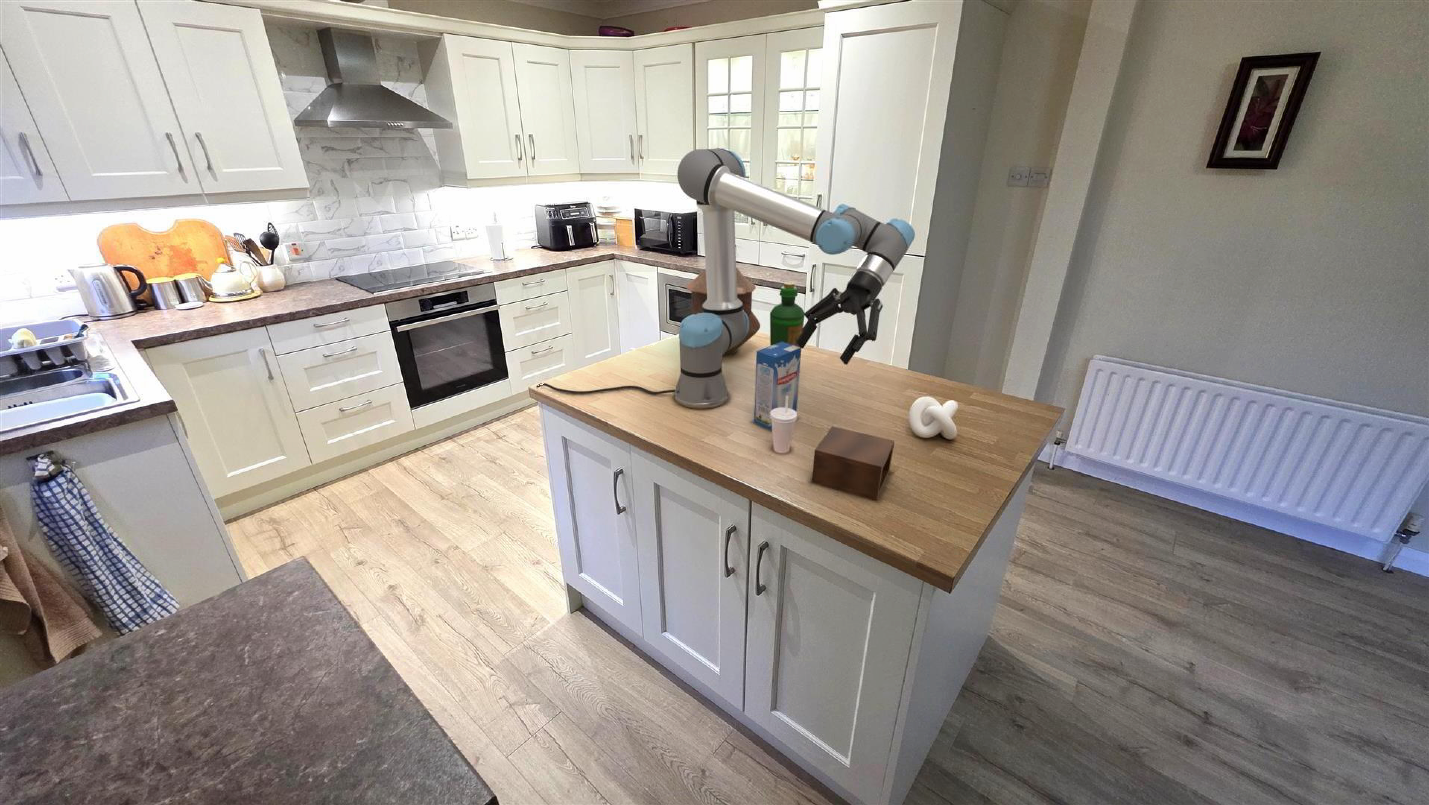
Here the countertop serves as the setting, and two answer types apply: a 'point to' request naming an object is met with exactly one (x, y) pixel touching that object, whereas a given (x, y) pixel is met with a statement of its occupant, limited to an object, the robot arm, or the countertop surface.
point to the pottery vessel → (743, 294)
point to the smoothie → (782, 427)
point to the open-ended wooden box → (852, 462)
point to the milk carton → (776, 380)
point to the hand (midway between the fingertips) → (820, 353)
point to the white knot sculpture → (933, 418)
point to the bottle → (786, 317)
